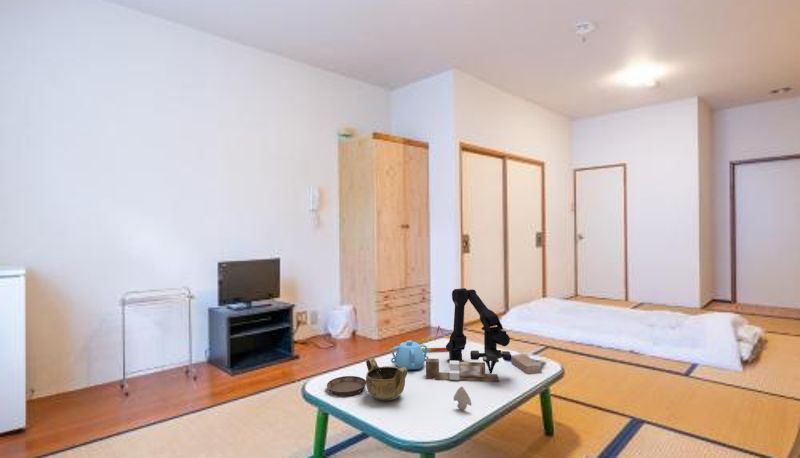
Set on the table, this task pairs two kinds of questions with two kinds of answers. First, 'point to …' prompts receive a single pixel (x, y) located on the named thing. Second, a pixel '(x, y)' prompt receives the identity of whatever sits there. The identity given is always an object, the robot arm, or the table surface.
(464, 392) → the arrowhead
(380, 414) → the table surface
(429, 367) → the wooden shelf
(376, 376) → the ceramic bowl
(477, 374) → the wall mounted shelf tray
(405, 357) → the decorative pot
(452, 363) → the white chair-shaped block
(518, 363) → the brick
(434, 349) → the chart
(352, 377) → the plant saucer
